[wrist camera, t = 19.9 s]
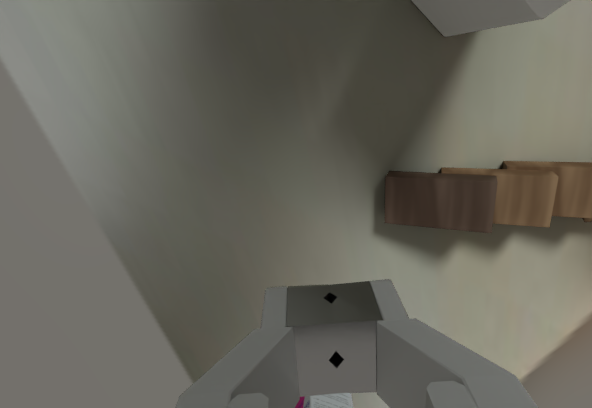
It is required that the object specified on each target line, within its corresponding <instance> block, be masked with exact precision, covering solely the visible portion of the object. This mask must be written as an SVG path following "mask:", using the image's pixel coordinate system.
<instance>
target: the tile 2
mask: <svg viewBox="0 0 592 408" xmlns="http://www.w3.org/2000/svg"><path fill="white" fill-rule="evenodd" d="M441 173H445V174H468V175H490V176H496V177H497V182H498V183H497V192H496V200H495V208H494V217H493V224H508V225H522V226H536V227H550V222H551V217H552V211H553V205H554V200H555V194H556V189H557V183H558V178H559V177H558V176H557V175H556V174H555V173H554V172H553V171H545V170H509V169H474V168H441Z"/></svg>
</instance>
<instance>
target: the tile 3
mask: <svg viewBox="0 0 592 408" xmlns="http://www.w3.org/2000/svg"><path fill="white" fill-rule="evenodd" d="M503 169H509V170H545V171H553V172H554V173H555V174H556V175H557V176H558V177H559V178H558V183H557V189H556V194H555V200H554V205H553V211H552V216H560V217H578V218H592V163H588V162H528V161H503Z"/></svg>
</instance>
